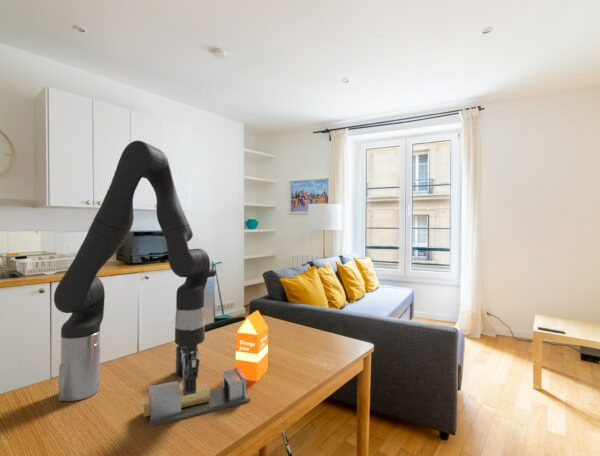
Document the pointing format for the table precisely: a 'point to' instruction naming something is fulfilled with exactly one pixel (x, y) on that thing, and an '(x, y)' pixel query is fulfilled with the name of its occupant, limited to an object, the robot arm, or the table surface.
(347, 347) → the table surface
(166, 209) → the robot arm
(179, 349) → the supplement bottle
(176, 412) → the rail
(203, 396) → the block
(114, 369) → the table surface
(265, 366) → the orange juice
